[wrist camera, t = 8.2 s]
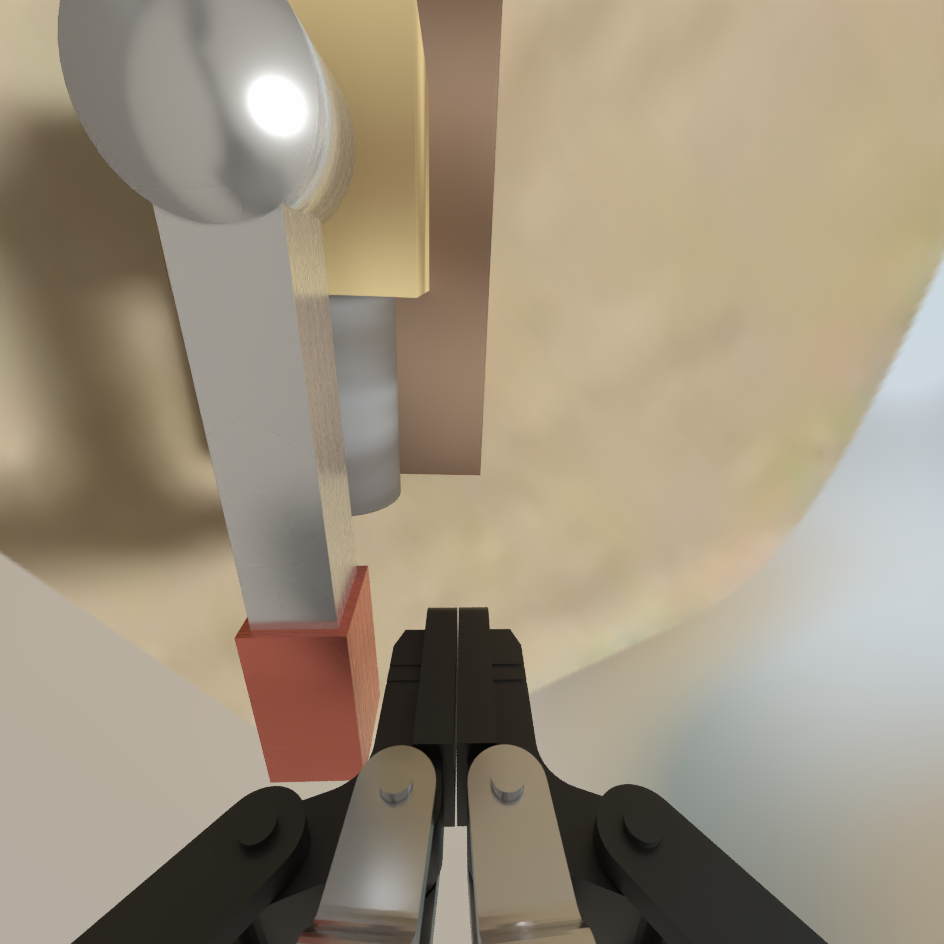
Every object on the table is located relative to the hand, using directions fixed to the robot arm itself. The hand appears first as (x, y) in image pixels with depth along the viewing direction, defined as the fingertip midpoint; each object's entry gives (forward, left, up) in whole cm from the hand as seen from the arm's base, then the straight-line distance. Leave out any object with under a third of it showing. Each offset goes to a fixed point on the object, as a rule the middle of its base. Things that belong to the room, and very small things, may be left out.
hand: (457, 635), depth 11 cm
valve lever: (-5, -3, 0) cm, 6 cm away
